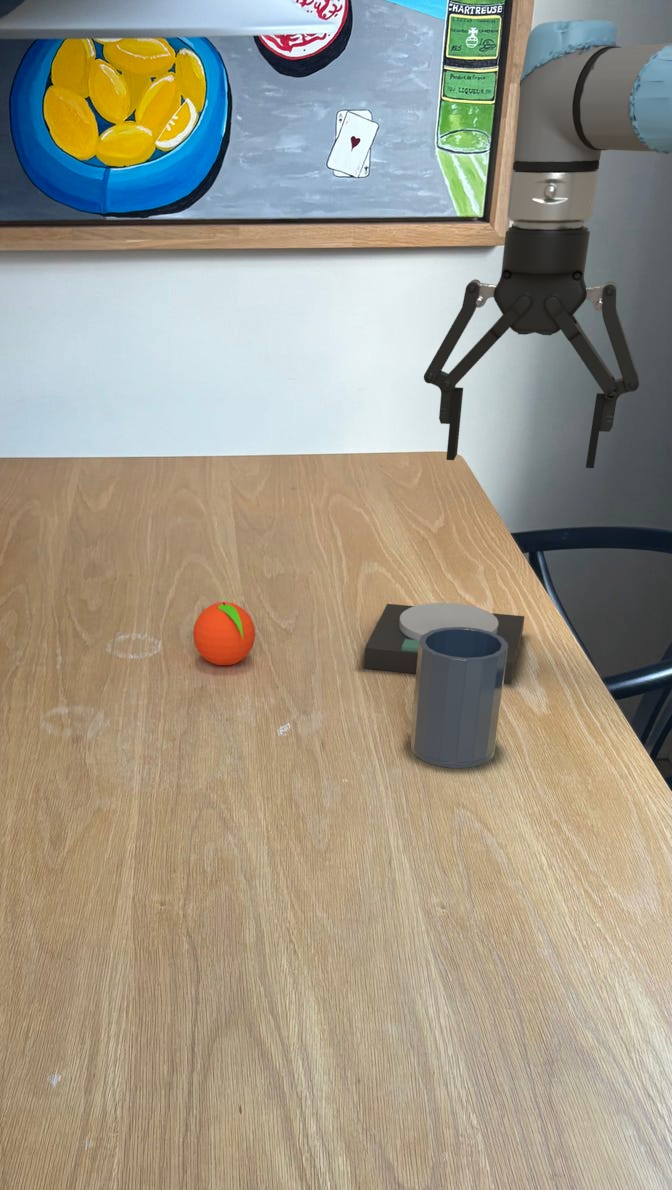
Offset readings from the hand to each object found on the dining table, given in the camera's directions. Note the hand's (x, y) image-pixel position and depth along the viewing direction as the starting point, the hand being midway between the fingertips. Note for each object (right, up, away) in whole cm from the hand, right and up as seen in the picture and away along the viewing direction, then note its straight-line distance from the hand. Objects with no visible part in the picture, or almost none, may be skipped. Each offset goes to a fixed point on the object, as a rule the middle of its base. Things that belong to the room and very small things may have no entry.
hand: (519, 461), depth 123 cm
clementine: (-29, -18, +14) cm, 37 cm away
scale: (-4, -17, +16) cm, 24 cm away
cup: (-8, -29, -4) cm, 31 cm away
